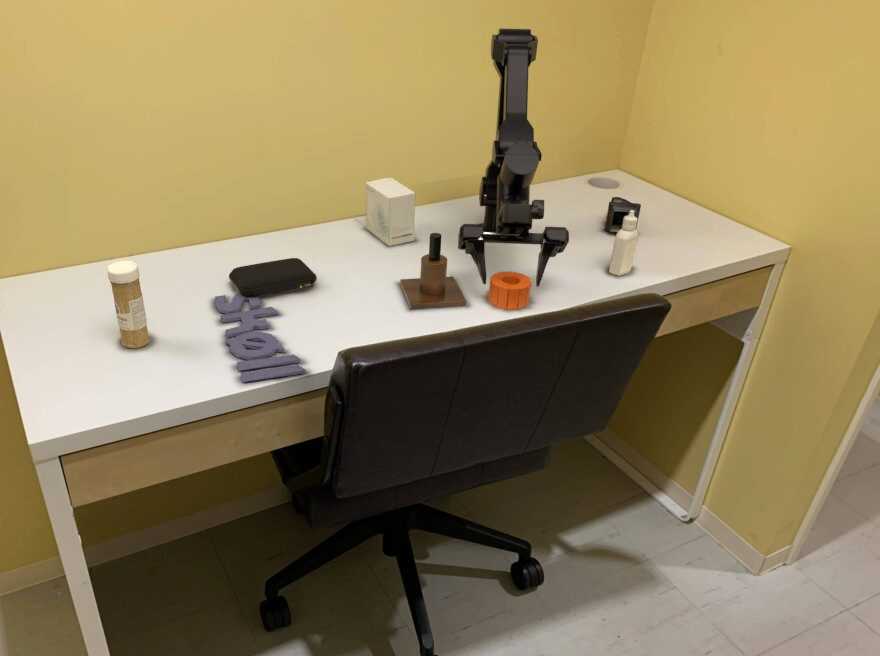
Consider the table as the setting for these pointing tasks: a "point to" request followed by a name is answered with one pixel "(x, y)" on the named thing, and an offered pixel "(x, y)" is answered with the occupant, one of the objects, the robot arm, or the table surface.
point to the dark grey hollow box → (619, 213)
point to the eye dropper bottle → (624, 246)
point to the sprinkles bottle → (129, 303)
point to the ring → (509, 290)
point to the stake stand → (433, 281)
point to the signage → (249, 340)
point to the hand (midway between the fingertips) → (511, 284)
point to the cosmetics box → (390, 211)
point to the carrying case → (272, 277)
